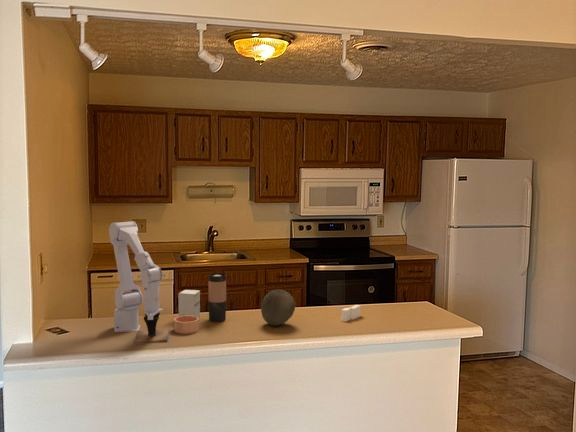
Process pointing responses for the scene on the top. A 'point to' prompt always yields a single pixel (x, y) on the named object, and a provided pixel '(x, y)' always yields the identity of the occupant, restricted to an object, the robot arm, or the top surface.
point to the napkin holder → (350, 313)
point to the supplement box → (189, 303)
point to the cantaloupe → (277, 307)
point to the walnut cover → (152, 336)
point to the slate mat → (152, 342)
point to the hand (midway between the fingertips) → (152, 332)
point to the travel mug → (217, 297)
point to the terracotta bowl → (186, 324)
